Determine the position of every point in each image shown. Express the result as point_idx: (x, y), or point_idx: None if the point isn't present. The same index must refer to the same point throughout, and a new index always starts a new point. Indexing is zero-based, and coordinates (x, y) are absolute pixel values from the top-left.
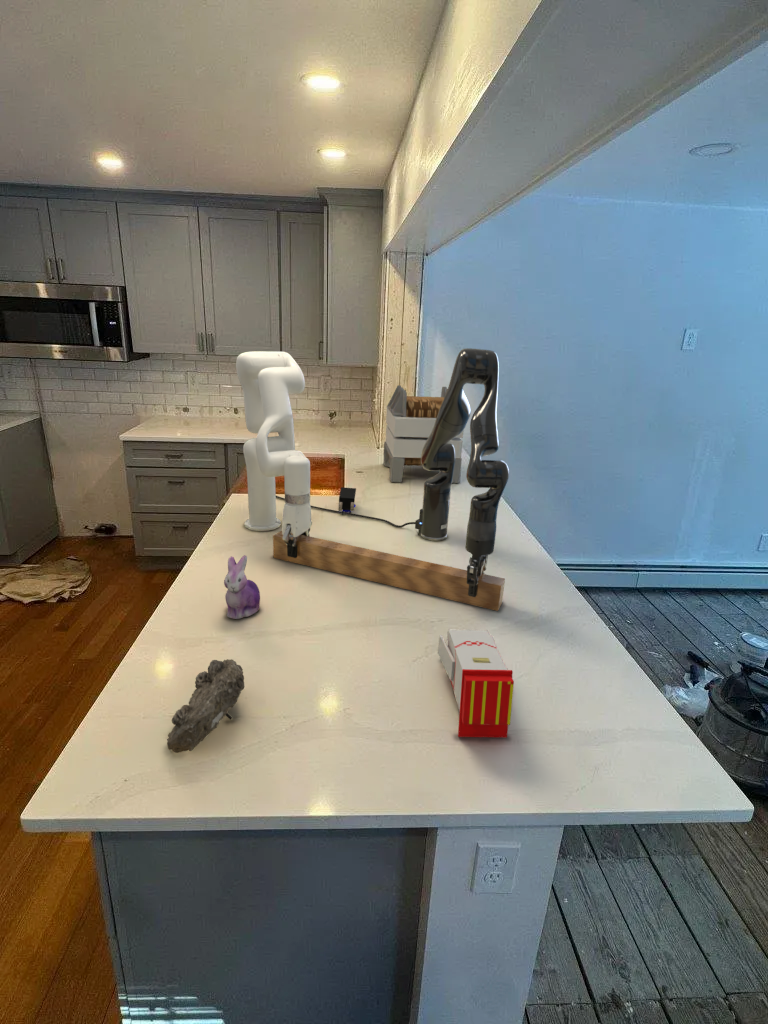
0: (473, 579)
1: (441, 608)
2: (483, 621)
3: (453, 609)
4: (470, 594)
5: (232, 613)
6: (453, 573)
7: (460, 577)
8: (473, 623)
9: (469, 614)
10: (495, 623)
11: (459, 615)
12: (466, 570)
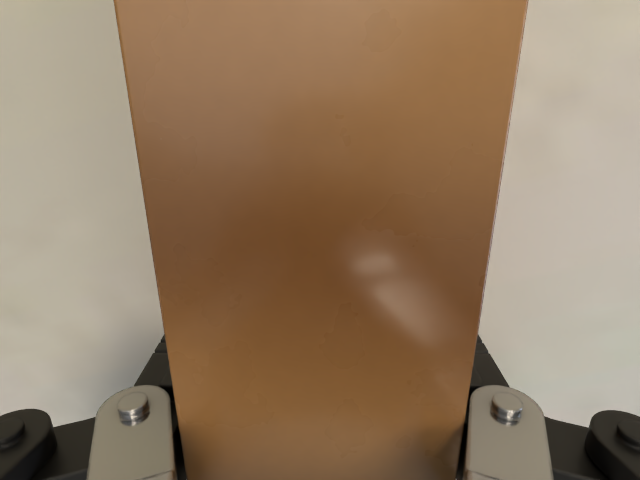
0: (192, 462)
1: (36, 69)
2: (74, 400)
3: (91, 174)
4: None
5: None
6: (221, 118)
7: (159, 276)
8: (3, 355)
9: (100, 303)
10: None
11: (35, 244)
12: (471, 302)
